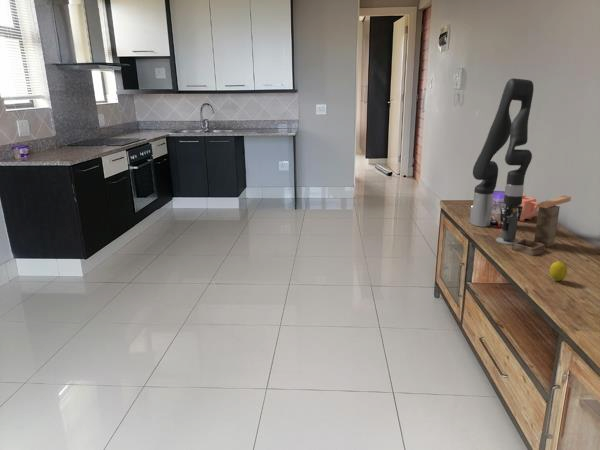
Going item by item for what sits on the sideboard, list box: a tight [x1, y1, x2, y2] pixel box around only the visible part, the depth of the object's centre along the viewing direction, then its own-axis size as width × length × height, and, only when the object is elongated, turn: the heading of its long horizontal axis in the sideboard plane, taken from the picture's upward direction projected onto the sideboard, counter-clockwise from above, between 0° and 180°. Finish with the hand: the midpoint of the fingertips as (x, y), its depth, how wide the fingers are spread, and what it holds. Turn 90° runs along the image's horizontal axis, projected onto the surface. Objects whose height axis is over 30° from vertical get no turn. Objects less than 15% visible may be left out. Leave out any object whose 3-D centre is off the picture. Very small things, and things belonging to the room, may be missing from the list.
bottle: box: [501, 207, 519, 240], centre depth 204 cm, size 6×6×15 cm
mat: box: [495, 236, 520, 246], centre depth 206 cm, size 10×10×1 cm
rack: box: [511, 205, 561, 256], centre depth 195 cm, size 10×21×18 cm, turn 124°
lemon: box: [549, 260, 568, 282], centre depth 162 cm, size 6×6×8 cm
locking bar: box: [538, 195, 572, 208], centre depth 198 cm, size 3×21×2 cm, turn 124°
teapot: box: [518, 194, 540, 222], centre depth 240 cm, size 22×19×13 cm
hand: (509, 229), depth 204 cm, fingers closed on bottle, 6 cm apart
